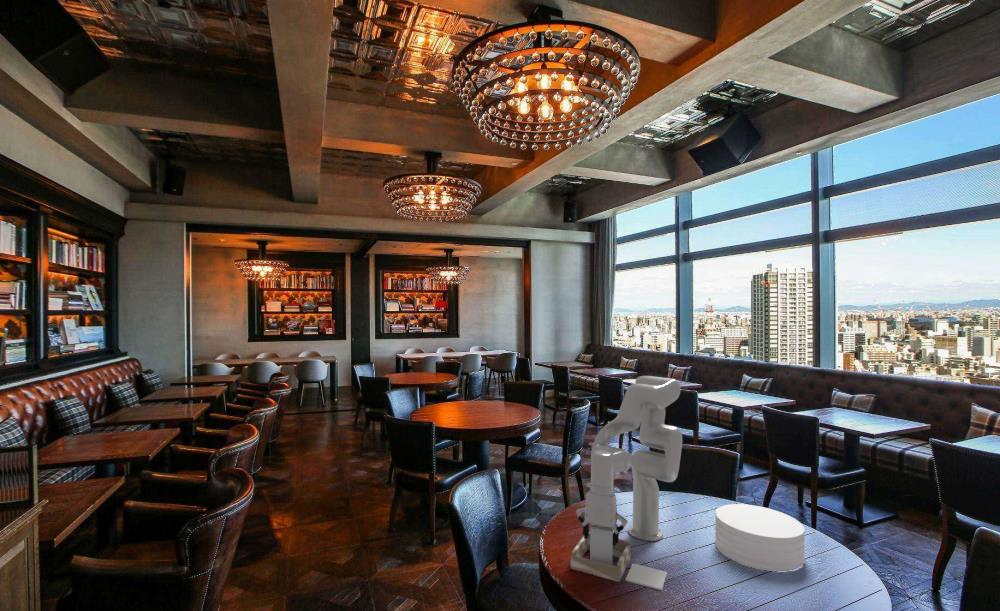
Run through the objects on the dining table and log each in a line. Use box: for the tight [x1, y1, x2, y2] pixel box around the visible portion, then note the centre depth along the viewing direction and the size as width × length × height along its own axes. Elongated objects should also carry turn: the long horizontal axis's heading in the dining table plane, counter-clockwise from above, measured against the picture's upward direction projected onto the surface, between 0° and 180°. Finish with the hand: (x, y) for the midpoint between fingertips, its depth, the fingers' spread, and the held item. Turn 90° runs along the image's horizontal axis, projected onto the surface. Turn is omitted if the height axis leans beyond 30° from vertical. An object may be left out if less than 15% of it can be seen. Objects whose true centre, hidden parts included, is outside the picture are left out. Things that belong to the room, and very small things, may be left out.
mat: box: [625, 562, 668, 591], centre depth 153 cm, size 11×11×1 cm
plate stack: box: [714, 503, 806, 571], centre depth 171 cm, size 28×28×12 cm
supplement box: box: [589, 523, 614, 566], centre depth 161 cm, size 7×7×13 cm
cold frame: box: [570, 531, 632, 583], centre depth 161 cm, size 16×16×6 cm
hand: (600, 540), depth 160 cm, fingers open, 9 cm apart
